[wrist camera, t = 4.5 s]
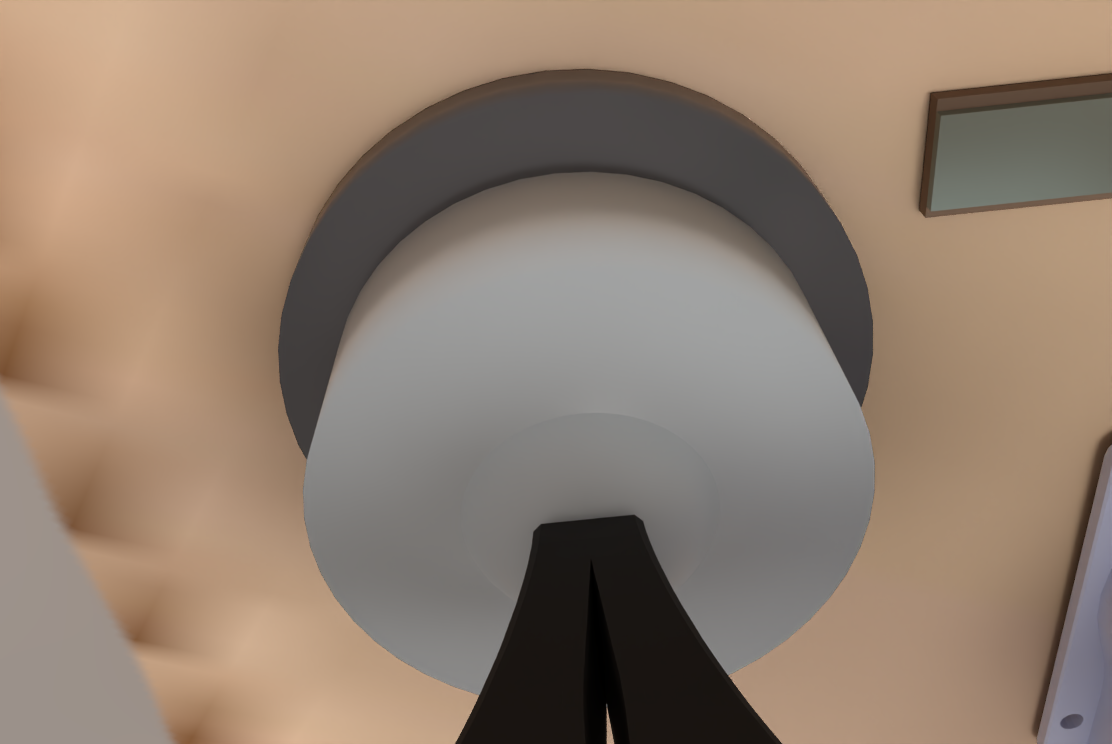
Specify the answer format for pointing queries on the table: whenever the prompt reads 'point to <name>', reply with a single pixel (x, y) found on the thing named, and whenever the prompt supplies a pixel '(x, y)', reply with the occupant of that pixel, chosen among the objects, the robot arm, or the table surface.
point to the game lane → (1018, 146)
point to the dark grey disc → (562, 147)
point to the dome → (583, 420)
